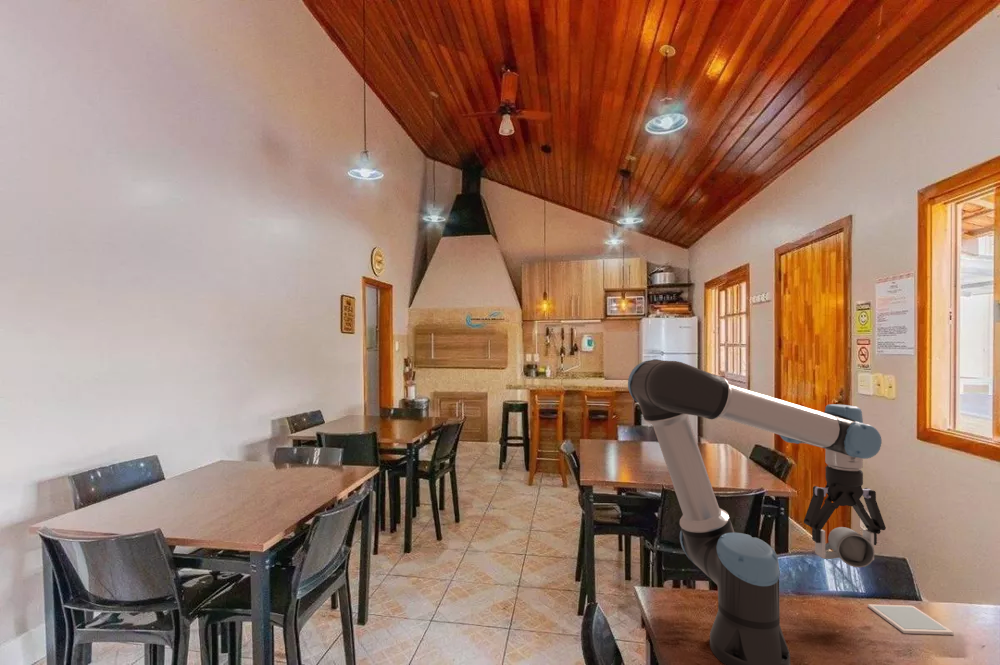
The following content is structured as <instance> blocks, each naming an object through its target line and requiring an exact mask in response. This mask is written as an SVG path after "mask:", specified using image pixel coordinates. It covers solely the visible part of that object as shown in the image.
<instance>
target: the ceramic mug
mask: <svg viewBox="0 0 1000 665" xmlns="http://www.w3.org/2000/svg"><path fill="white" fill-rule="evenodd" d="M827 540H828V542H827V543H826V542H825V558H822V557H820V558H821V559H823V560H832V559H838V558H839V559H840V560H841V561H842V562H843V563H844V564H846V565H848V566H850V567H854V568H865V567H867V566H870V565H871V564H872V562H873V561H874V560H875V547H874V548H873V546H872V544H871V543H870V541H869V540H868V539H866V538H865V537H863V534H860V533H858V532H857V531H855V530H854V529H851V528H849V527H844V526H838V527H835V528H833V529H832V530H830V532H829V533H828V538H827ZM829 550H832V551H829ZM828 551H829V552H828ZM873 559H874V560H873Z"/></svg>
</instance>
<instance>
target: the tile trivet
mask: <svg viewBox="0 0 1000 665" xmlns="http://www.w3.org/2000/svg"><path fill="white" fill-rule="evenodd" d="M867 607H868V608H869V609H870V610H872V611H873V612H874V613H876V614H877V615H878V616H880V617H881V618H882V619H884V620H885V621H887V622H888V623H889V624H891V625H892V626H893V627H895V628H896V629H897V630H898V631H900V632H901V633H903V634H917V635H920V634H921V635H943V636H944V635H950V636H951V635H952V636H953V635H954V631H952V630H951V629H950V628H948V627H947V626H946V625H944V624H941V623H940V622H939V621H937V620H935V619H934V618H933V617H931V616H930V615H928V614H927V613H925V612H923V611H922V610H920V609H919V608H917V607H915V606H914V605H910V604H909V605H907V604H906V605H903V604H874V603H873V604H870V603H868V604H867Z"/></svg>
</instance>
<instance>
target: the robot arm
mask: <svg viewBox="0 0 1000 665" xmlns="http://www.w3.org/2000/svg"><path fill="white" fill-rule="evenodd" d="M627 388H628V392H629V394H630V396H631V397H632V399H633V400H634V401H635V402H636V403H637V404H638V405H639V409H640V411H641V413H642V416H643V419H644V420H643V421H645V422H647V423H649V424H651V425H652V427H653V430H654V433H655V436H656V439H657V442H658V444H659V448H660V451H661V453H662V456H663V460H664V462H665V465H666V468H667V471H668V474H669V476H670V480H671V483H672V486H673V490H674V492H675V496H676V498H677V501H678V504H679V507H680V509H681V513H682V515H681V517H680V519H679V526H680V530H679V531H680V532H679V542H680V546H681V548H682V551H683V552H684V554H685V555H686V557H687V558H688V560H690V561H691V563H693V565H695V566H696V567H697V568H699V569H700V570H701V571H702V572H703V573H704V574H705V575H706V576H707V577H708V578H709V579H710V580H711V581H713V582H714V584H716V586H717V603H718V605H717V607H718V608H717V611H716V612H717V613H716V614H715V618H714V621H713V623H712V625H711V629H710V633H709V647H710V650H711V652H712V654H713V655H714V656H715V658H717V659H718V660H719V661H720V662H721V663H722V664H724V665H791V653H790V651H789V647H788V643H787V642H786V639H785V636H784V633H783V630H782V628H781V622H780V620H781V619H780V618H781V617H780V616H781V615H780V614H781V612H780V611H781V610H780V576H781V570H780V564H779V557H778V555H777V553H776V551H775V549H774V548H773V547H772V546H771V545H770V544H769V543H767V542H765V541H764V540H763V539H760V538H758V537H756V536H755V537H752V535H750V534H748V533H747V534H746V533H742V532H736V531H735V530H734V527H733V524H732V521H731V519H730V515H729V513H728V512H727V511H726V510H724V509H723V508H720V506H719V504H718V500H717V498H716V495H715V493H714V489H713V486H712V483H711V480H710V477H709V474H708V472H707V468H706V465H705V462H704V459H703V456H702V454H701V450H700V448H699V445H698V442H697V438H696V435H695V433H694V429H693V428H692V423H691V421H690V418H689V415H691V416H696V417H700V418H704V419H708V420H711V421H713V420H717V419H718V418H720V419H724V420H728V421H730V422H734V423H738V424H740V425H744V426H748V427H750V428H751V427H752V428H755V429H759V430H760V431H761V430H762V431H765V432H769V433H772V434H776V435H778V436H779V437H780V438H781V439H782V440H783V441H785V443H788V444H790V443H791V444H797V445H799V444H805V445H806V444H807V445H809V446H814V447H818V448H821V449H824V451H825V454H824V455H825V462H824V463H826V466H825V481H826V485H825V487H819V486H817V485H814V486H812V496H811V500H810V502H809V505H808V507H807V511H806V513H805V516H804V519H803V523H804V524H805V525H806V526H809V527H810V528H811V536H812V537H811V539H812V541H814V548H815V549H814V551H815V552H814V554H816V555H817V556H819V557H820V558H821V557H822V558H821V559H824V558H825V552H826V551H825V544H826V530H824V529H823V528H824V526H825V525H826V524H827V522H828V520H829V519H830V517H831V516H832V514H833V513H834V511H835V510H837V509H839V508H840V506H841V507H845V506H847V507H852V508H853V510H854V511H855V513H856V514H857V517H858V518H859V519H860V520H861V522H862V523H863V525H864V527H865V528H862V536H863V537H865V538H866V539H868V540H869V541H870V543H871V544H872V546H873V548H874V549H875V546H877V544H878V542H877V541H878V538H877V537H878V535H879V534H881V532H882V531H885V530H886V528H887V527H886V525H885V521H884V519H883V516H882V514H881V510H880V508H879V505H878V503H877V493H876V490H874V489H871V488H868V487H864V488H863V487H862V486H863V485H864V472H863V471H862V469H863V467H864V466H863V465H864V462H863V460H867V459H871V458H873V457H875V456H876V455H877V454H878V453H879V452H880V450H881V447H882V444H883V442H882V436H881V434H880V432H879V431H878V429H877V428H875V426H873V425H871V424H867V423H864V421H863V419H864V418H863V412H862V409H861V408H860V407H859V406H855V405H849V404H837V403H836V404H834V403H831V404H830V403H829V404H827V405H826V406H825V410H824V412H823V411H820V410H817V409H813V408H810V407H806V406H804V405H800V404H798V403H797V404H796V403H793V402H789V401H787V400H783V399H780V398H777V397H772V396H770V395H767V394H763V393H760V392H757V391H754V390H750V389H747V388H743V387H739V386H736V385H734V384H730V383H729V381H728V380H727V379H726V378H725V377H722V376H720V375H716V374H713V373H710V372H708V371H706V370H703V369H700V368H697V367H696V366H695V367H694V366H692V365H690V364H688V363H684V362H682V361H678V360H677V361H676V360H663V359H658V358H657V359H650V360H645V361H641V362H640V363H638V364H637V365H636V366H635V367H634V368H633V369H632V370H631V371H630V373H629V376H628V379H627ZM825 497H826V498H825ZM862 497H863V500H864V502H865V505H866V508H867V510H866V508H865V505H864V504H863V502H862V500H860V499H861V498H862ZM824 499H825V500H824ZM867 511H868V512H867ZM873 561H875V558H874V559H873Z"/></svg>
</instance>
